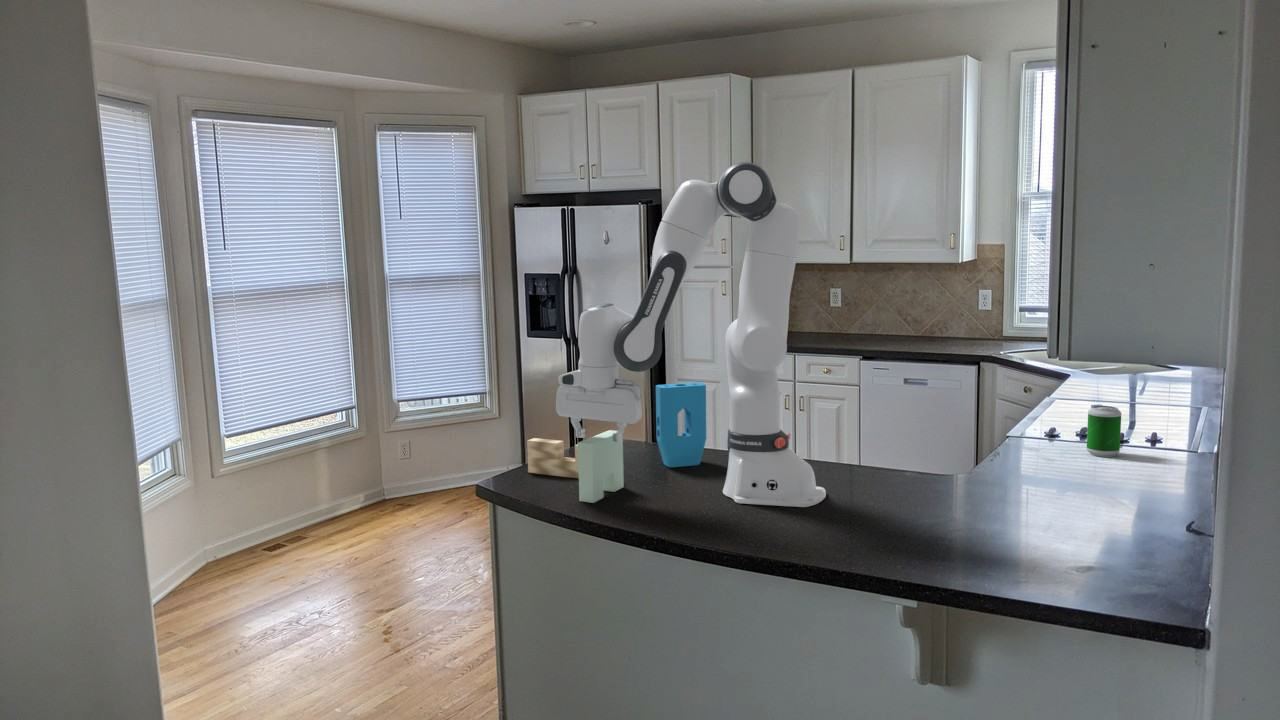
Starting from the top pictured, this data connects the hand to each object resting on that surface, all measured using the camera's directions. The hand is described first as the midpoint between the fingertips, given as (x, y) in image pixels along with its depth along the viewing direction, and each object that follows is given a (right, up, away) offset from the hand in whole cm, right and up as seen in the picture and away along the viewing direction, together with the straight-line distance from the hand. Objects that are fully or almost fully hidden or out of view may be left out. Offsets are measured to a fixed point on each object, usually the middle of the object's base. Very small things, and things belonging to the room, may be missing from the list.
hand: (598, 439), depth 211 cm
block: (+20, -9, +28) cm, 35 cm away
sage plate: (+1, -12, +2) cm, 12 cm away
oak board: (-8, -10, +18) cm, 22 cm away
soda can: (+126, -6, +29) cm, 130 cm away
